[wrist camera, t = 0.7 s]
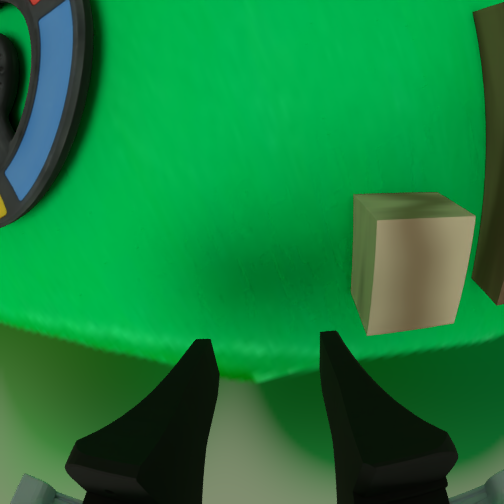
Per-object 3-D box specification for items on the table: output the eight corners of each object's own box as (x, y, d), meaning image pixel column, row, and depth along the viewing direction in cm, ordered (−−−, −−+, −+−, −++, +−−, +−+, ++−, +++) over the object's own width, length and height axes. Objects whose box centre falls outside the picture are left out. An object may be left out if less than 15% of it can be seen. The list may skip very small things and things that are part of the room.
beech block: (436, 191, 19) (475, 216, 14) (425, 283, 22) (453, 323, 17) (353, 193, 19) (377, 220, 15) (350, 291, 22) (367, 335, 18)
